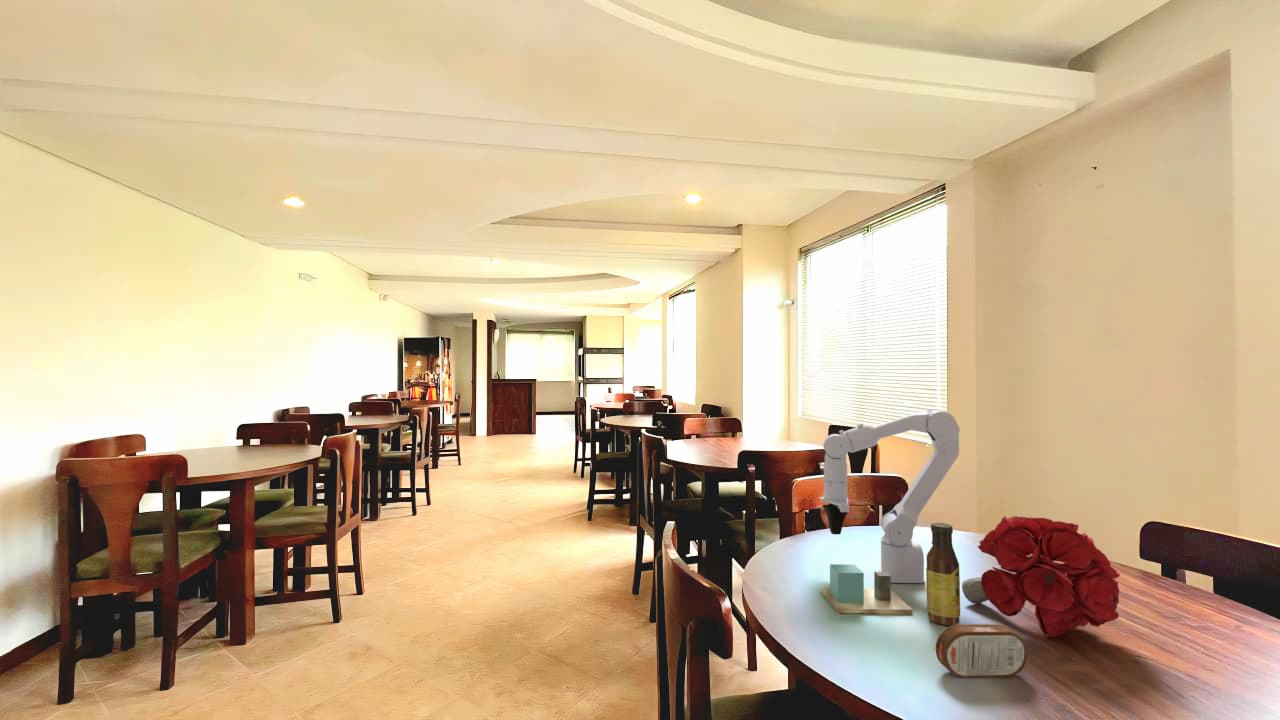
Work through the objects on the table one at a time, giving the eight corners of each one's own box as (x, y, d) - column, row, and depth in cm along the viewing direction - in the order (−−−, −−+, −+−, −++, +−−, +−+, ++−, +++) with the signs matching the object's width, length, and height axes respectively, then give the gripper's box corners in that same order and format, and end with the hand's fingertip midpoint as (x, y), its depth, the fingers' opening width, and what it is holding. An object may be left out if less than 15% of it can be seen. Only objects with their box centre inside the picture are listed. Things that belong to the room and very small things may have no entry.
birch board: (889, 592, 138) (889, 565, 138) (912, 614, 126) (912, 583, 126) (820, 592, 138) (820, 564, 138) (837, 613, 126) (837, 583, 126)
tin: (1018, 670, 102) (1018, 622, 103) (1031, 680, 99) (1031, 630, 99) (934, 671, 102) (934, 622, 102) (944, 681, 99) (944, 630, 99)
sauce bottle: (964, 628, 119) (964, 530, 119) (931, 625, 120) (931, 528, 120) (954, 615, 125) (953, 522, 125) (922, 612, 126) (922, 520, 127)
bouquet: (956, 652, 123) (1097, 630, 100) (914, 538, 135) (1032, 495, 111) (1023, 640, 132) (1167, 618, 108) (978, 535, 143) (1100, 494, 120)
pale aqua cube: (854, 593, 135) (854, 564, 135) (863, 603, 129) (863, 573, 129) (830, 593, 135) (830, 564, 135) (838, 603, 129) (838, 572, 129)
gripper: (812, 475, 159) (812, 526, 159) (829, 486, 145) (828, 541, 145) (838, 476, 159) (838, 526, 159) (857, 486, 145) (857, 541, 145)
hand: (835, 533), depth 152 cm, fingers closed
